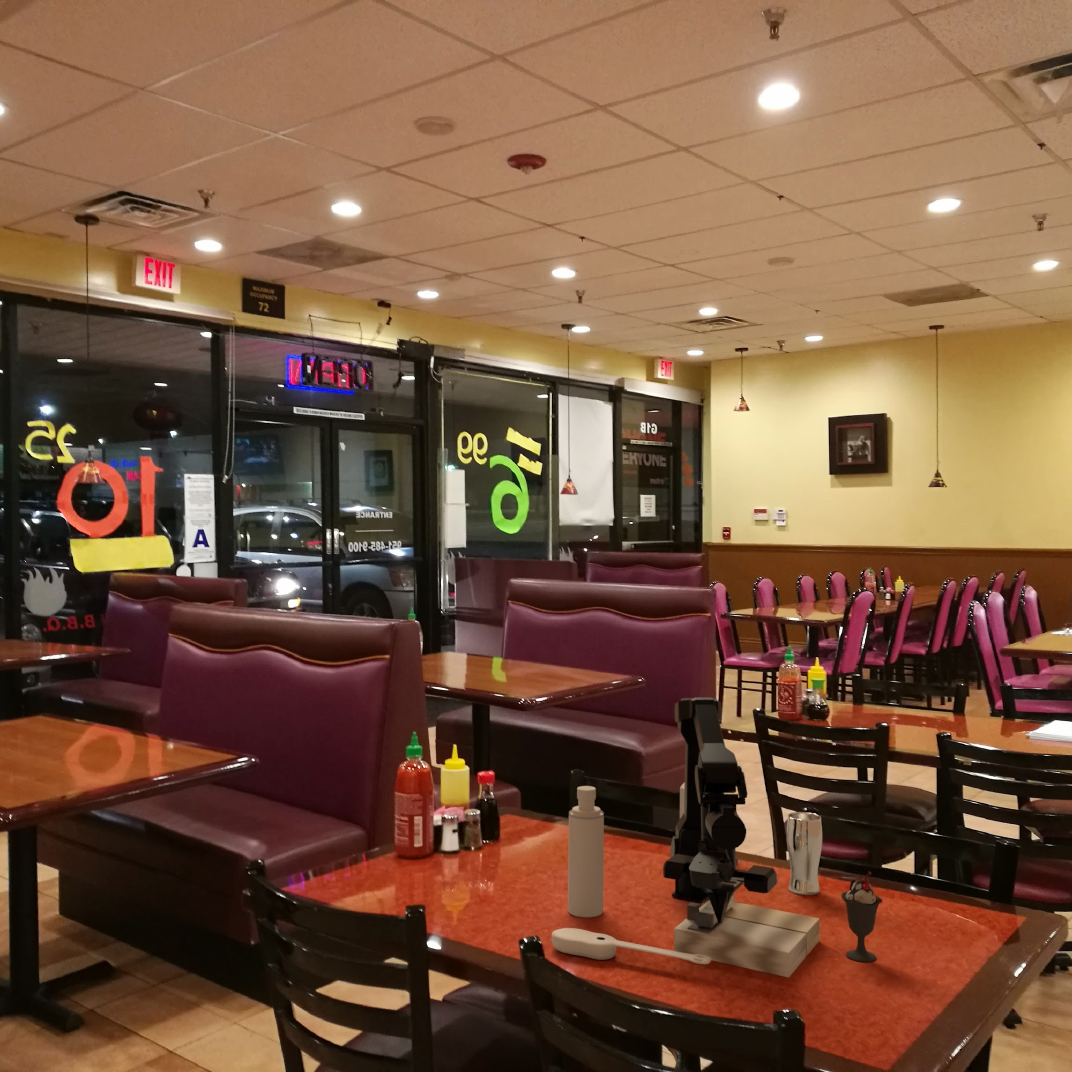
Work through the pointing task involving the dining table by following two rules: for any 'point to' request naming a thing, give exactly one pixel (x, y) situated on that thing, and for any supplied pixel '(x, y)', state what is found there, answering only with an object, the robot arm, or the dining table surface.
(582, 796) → the spray bottle
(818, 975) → the dining table surface
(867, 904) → the sundae
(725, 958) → the wooden case with bar
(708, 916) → the latch bar
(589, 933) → the handheld milk frother
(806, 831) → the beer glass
